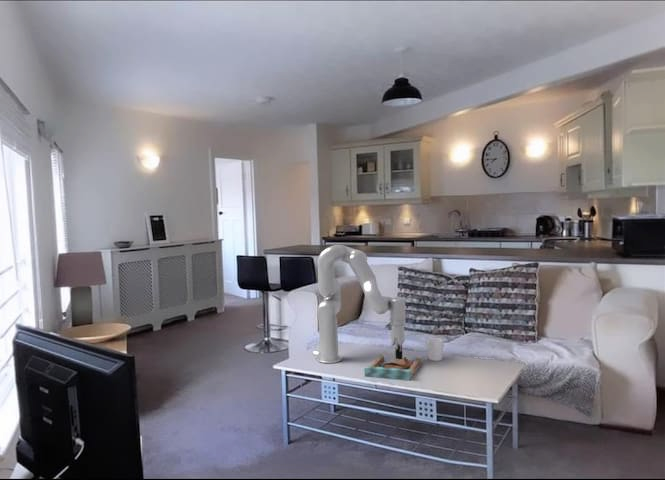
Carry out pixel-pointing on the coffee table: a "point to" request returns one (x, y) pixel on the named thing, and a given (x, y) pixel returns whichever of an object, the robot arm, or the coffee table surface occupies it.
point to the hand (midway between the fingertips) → (399, 358)
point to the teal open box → (390, 370)
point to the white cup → (435, 348)
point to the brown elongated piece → (399, 364)
